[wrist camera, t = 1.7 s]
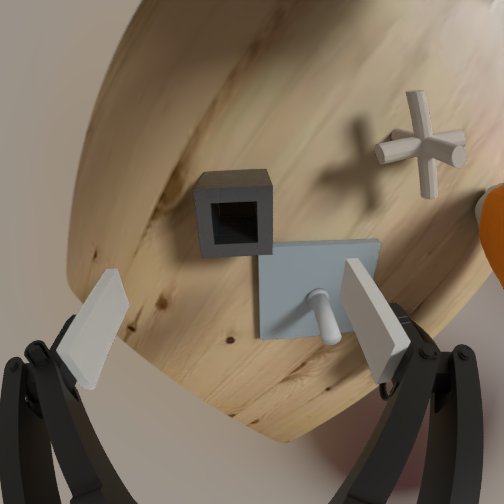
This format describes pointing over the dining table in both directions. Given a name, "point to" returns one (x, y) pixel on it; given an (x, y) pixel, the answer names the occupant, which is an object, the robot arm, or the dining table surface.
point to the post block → (308, 287)
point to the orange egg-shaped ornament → (492, 227)
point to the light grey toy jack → (424, 145)
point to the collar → (234, 227)
